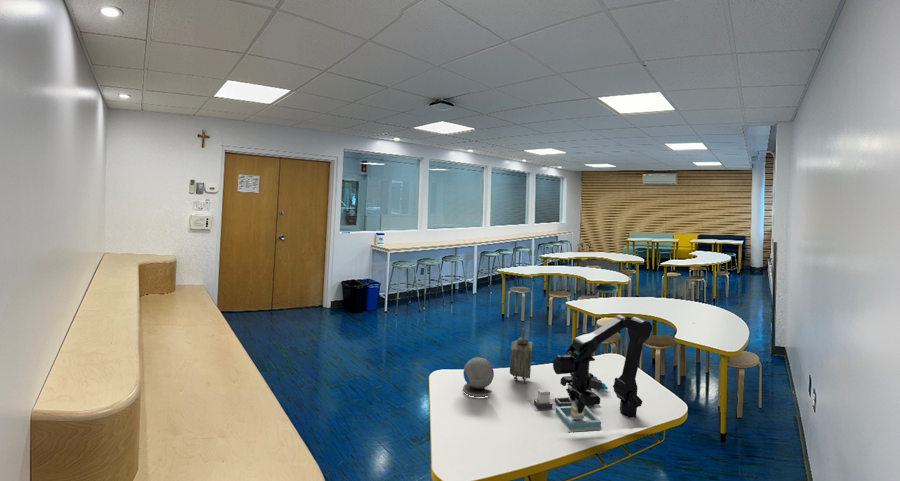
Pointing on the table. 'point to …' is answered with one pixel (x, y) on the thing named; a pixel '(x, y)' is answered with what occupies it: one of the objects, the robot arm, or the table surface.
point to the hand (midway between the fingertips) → (578, 411)
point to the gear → (602, 384)
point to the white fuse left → (543, 396)
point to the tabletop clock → (521, 358)
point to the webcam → (478, 377)
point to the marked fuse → (576, 411)
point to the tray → (578, 424)
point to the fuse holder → (555, 404)
